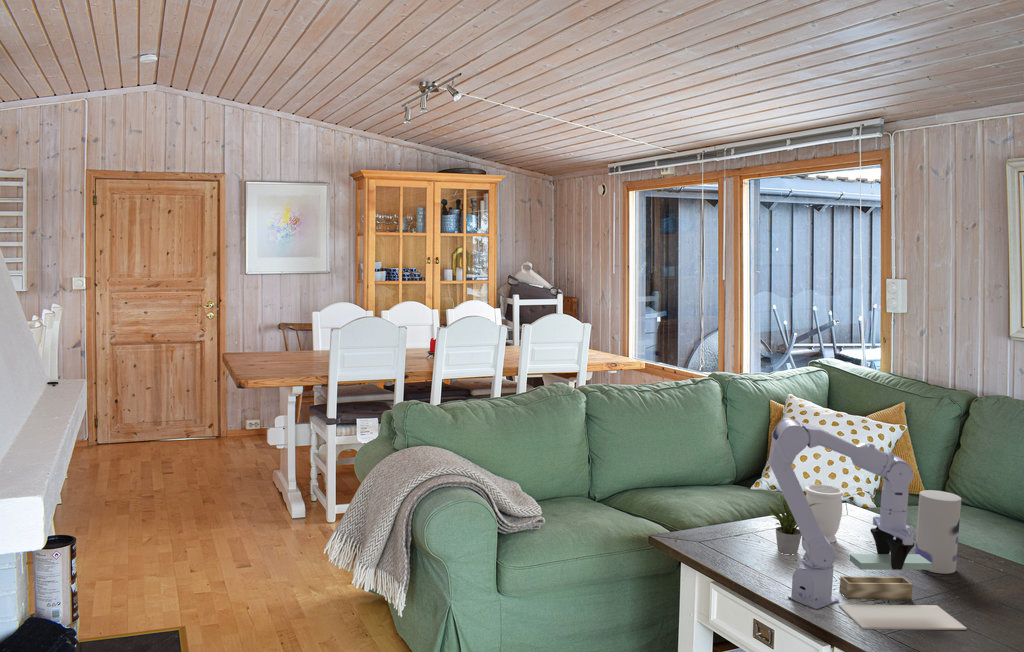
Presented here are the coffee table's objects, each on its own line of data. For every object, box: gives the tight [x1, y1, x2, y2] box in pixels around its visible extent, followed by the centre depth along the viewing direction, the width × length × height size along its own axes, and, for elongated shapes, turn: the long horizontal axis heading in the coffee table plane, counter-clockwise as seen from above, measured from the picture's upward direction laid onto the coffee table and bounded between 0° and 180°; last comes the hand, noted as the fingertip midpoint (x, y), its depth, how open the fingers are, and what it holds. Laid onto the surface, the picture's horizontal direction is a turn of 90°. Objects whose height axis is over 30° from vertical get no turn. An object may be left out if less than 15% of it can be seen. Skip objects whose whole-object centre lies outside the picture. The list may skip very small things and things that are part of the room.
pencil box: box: [839, 575, 914, 601], centre depth 203 cm, size 16×4×4 cm, turn 93°
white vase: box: [804, 484, 844, 544], centre depth 243 cm, size 11×10×15 cm
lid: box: [848, 553, 932, 571], centre depth 196 cm, size 17×6×2 cm, turn 94°
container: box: [914, 489, 962, 574], centre depth 222 cm, size 10×10×20 cm
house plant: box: [766, 494, 819, 556], centre depth 231 cm, size 14×14×16 cm
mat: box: [838, 603, 968, 631], centre depth 191 cm, size 24×12×1 cm, turn 93°
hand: (889, 564), depth 196 cm, fingers closed on lid, 6 cm apart
